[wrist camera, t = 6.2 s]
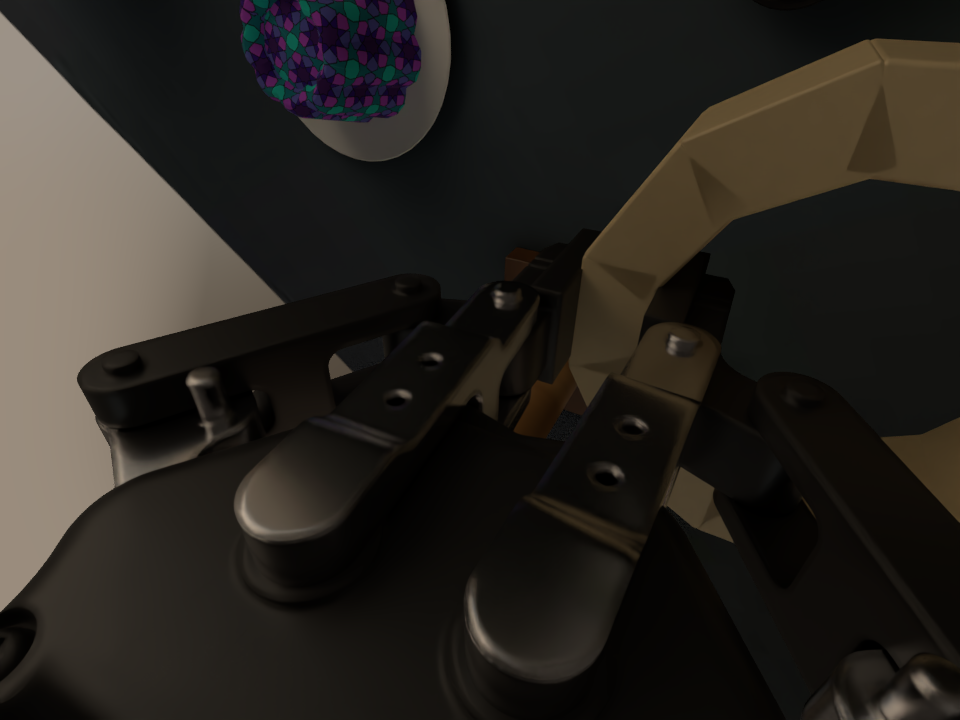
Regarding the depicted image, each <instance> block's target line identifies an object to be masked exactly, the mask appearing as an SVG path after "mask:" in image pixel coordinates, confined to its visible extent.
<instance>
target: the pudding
mask: <svg viewBox="0 0 960 720" xmlns="http://www.w3.org/2000/svg"><path fill="white" fill-rule="evenodd" d="M240 18H241V21H242V24H243V27H244V28H243V31H242V35H241V42H242V49H243V51H244V54H245V56H246V59H247V61H248V62H249V63H250V64H251V65H252V66H253V68H254V69H255V73H256V78H257V81H258V83H259V85H260V86H261V88H262V90H263V91H264V93H266V94H267V95H268V96H269V97H270V98H271V99H272V100H274V101H278V102H281V103H282V104H283V106H284V107H285V108H286V110H287V111H289V112H291V113H293V114H295V115H297V116H298V117H299V118H300V120H301V121H302V122H303V123H304V124H305V125H306V126H307V127H308V128H309V130H310V131H311V132H312V133H313V134H314V135H316V136H317V137H318V138H319V139H320V140H321V141H323V142H324V143H325V144H326V145H328V146H330V147H331V148H333V149H334V150H336V151H338V152H339V153H341V154H344V155H347V156H349V157H352V158H354V159H359V160H364V161H385V160H389V159H392V158H396V157H399V156H400V155H402V154H404V153H406V152H407V151H409V150H411V149H412V148H413V147H414V146H415V145H416V144H418V143H419V142H420V141H421V140H422V139H423V138H424V137H425V135H426V134H427V132H428V131H429V129H430V128H431V127H432V125H433V124H434V122H435V120H436V118H437V115H438V113H439V111H440V109H441V107H442V104H443V100H444V97H445V93H446V89H447V86H448V80H449V71H450V63H451V36H450V27H449V20H448V13H447V6H446V3H445V0H240Z"/></svg>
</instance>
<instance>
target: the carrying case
mask: <svg viewBox="0 0 960 720" xmlns="http://www.w3.org/2000/svg"><path fill="white" fill-rule="evenodd" d="M753 1H754V2H756V3H758V4H760V5H762V6H764V7H767V8H770V9H775V10H796V9H802V8H805V7H808V6H812V5H814V4H816V3H819V2H821V1H823V0H753Z"/></svg>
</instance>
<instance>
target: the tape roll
mask: <svg viewBox="0 0 960 720" xmlns="http://www.w3.org/2000/svg"><path fill="white" fill-rule="evenodd" d="M867 179H876V180H883V181H890V182H898V183H905V184H912V185H920V186H927V187H934V188H942V189H949V190H956V191H960V43H948V42H930V41H912V40H893V39H873V40H864V41H862V42H859V43H857V44H855V45H852V46H850V47H848V48H845V49H843V50H841V51H838V52H836V53H834V54H832V55H829V56H827V57H825V58H822V59H820V60H818V61H815V62H813V63H811V64H808V65H806V66H804V67H801V68H799V69H797V70H794V71H792V72H790V73H787V74H785V75H783V76H781V77H778V78H776V79H774V80H771V81H769V82H767V83H764V84H762V85H760V86H757V87H755V88H753V89H750V90H748V91H746V92H743V93H741V94H739V95H736V96H734V97H732V98H730V99H727V100H725V101H723V102H720V103H718V104H716V105H713V106H711V107H709V108H708V109H707V110H706V111H704V112H703V113H702V114H701V115H700V116H699V118H698V119H697V120H696V121H695V122H694V123H693V125H692V126H691V127H690V128H689V129H688V131H687V132H686V133H685V134H684V135H683V136H682V138H681V139H680V140H679V141H678V142H677V144H676V145H675V146H674V147H673V148H672V149H671V151H670V152H669V153H668V154H667V155H666V157H665V158H664V159H663V160H662V161H661V162H660V164H659V165H658V166H657V167H656V168H655V170H654V171H653V172H652V173H651V174H650V175H649V177H648V178H647V179H646V180H645V181H644V182H643V184H642V185H641V186H640V187H639V188H638V190H637V191H636V192H635V193H634V194H633V195H632V197H631V198H630V199H629V200H628V201H627V203H626V204H625V205H624V206H623V207H622V208H621V210H620V211H619V212H618V213H617V214H616V216H615V217H614V218H613V219H612V221H611V222H610V223H609V224H608V225H607V227H606V228H605V229H604V230H603V231H602V233H601V234H600V235H599V236H598V237H597V239H596V240H595V241H594V242H593V243H592V245H591V246H590V247H589V248H588V249H587V251H586V252H585V255H584V256H583V259H582V266H581V269H583V271H582V278H581V285H580V292H579V299H578V307H577V314H576V321H575V328H574V335H573V342H572V350H571V356H570V357H569V361H568V362H569V368H570V370H571V372H572V375H573V377H574V379H575V381H576V383H577V386H578V388H579V390H580V392H581V394H582V397H583V399H584V401H585V403H586V405H587V407H588V405H589V404H590V402H591V401H592V399H593V398H594V396H595V395H596V393H597V391H598V390H599V388H600V387H601V385H602V384H603V382H604V381H605V379H606V377H607V376H608V375H609V374H610V373H611V372H613V373H616V374H619V375H620V374H621V372H622V371H623V369H624V367H625V366H626V364H627V362H628V361H629V359H630V357H631V356H632V354H633V353H634V351H635V349H636V348H637V344H638V340H639V336H640V331H641V327H642V322H643V318H644V314H645V313H646V311H647V309H648V307H649V305H650V303H651V301H652V299H653V297H654V295H655V293H656V291H657V289H658V287H662V286H663V285H665V284H666V283H667V282H668V281H669V280H670V279H671V278H672V277H673V276H674V275H675V274H676V273H677V272H678V271H679V270H680V269H681V268H682V267H684V266H685V265H686V264H687V263H688V262H689V261H690V260H691V259H692V258H693V257H694V256H695V255H696V254H697V253H698V252H699V251H700V250H702V249H703V248H704V247H705V246H706V245H707V244H708V243H709V242H710V241H711V240H712V239H713V238H714V237H715V236H716V235H717V234H718V233H720V232H721V231H722V230H723V229H724V228H725V227H726V226H727V225H728V224H729V223H730V222H731V221H732V220H734V219H737V218H740V217H744V216H747V215H750V214H754V213H757V212H760V211H764V210H767V209H770V208H774V207H777V206H780V205H784V204H787V203H790V202H794V201H797V200H800V199H803V198H807V197H810V196H813V195H817V194H820V193H823V192H827V191H830V190H833V189H837V188H840V187H843V186H847V185H850V184H853V183H857V182H860V181H863V180H867ZM880 438H881V439H882V440H883V441H884V442H885V443H886V444H887V445H888V446H889V447H890V449H891V450H892V451H893V452H894V453H895V454H896V455H897V456H898V457H899V458H900V459H901V460H902V461H903V463H904V464H905V465H906V466H907V467H908V468H909V469H910V470H911V471H912V472H913V473H914V474H915V475H916V476H917V478H918V479H919V480H920V481H921V482H922V483H923V484H924V485H925V486H926V487H927V488H928V489H929V490H930V492H931V493H932V494H933V495H934V496H935V497H936V498H937V499H938V500H939V501H940V502H941V503H942V504H943V505H944V507H945V508H946V509H947V510H948V511H949V512H950V513H951V514H952V515H953V516H954V517H955V518H956V519H957V521H958V522H959V523H960V418H957V419H955V420H953V421H951V422H949V423H946V424H944V425H942V426H940V427H937V428H935V429H933V430H931V431H929V432H926V433H924V434H922V435H911V436H895V437H880ZM713 491H714V487H712V486H711V485H709V484H707V483H706V482H704V481H702V480H701V479H699V478H698V477H696V476H694V475H693V474H691V473H690V472H688V471H686V470H685V469H683V468H682V467H681V469H680V471H679V474H678V477H677V479H676V482H675V485H674V487H673V490H672V493H671V495H670V498H669V501H668V503H667V506H669V507H670V508H671V509H672V510H673V511H675V512H676V513H677V514H678V515H679V516H681V517H682V518H683V519H684V520H685V521H686V522H688V523H689V524H690V525H691V526H692V527H694V528H698V529H699V530H702V531H704V532H707V533H709V534H712V535H715V536H717V537H720V538H723V539H725V540H728V541H731V542H733V540H732V538H731V536H730V534H729V532H728V530H727V528H726V526H725V524H724V522H723V520H722V518H721V516H720V514H719V512H718V510H717V508H716V506H715V504H714V501H713ZM802 500H803V501H804V503H805V504H806V505H807V507H808V508H809V510H810V511H811V513H812V514H813V516H814V513H813V511H812V510H811V508H810V507H809V505H808V504H807V502H806V501H805V499H804V498H803V497H802ZM814 517H815V516H814ZM815 519H816V518H815ZM733 543H734V542H733Z"/></svg>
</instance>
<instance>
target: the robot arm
mask: <svg viewBox="0 0 960 720" xmlns="http://www.w3.org/2000/svg"><path fill="white" fill-rule="evenodd" d="M601 233H602V232H600V231H595V230H590V229H585V228H583V229H582V230H581V231H580V232H579V233H578V234H577V235H576V237H575V238H574V239H573V240H572V241H571V242H570V243H569V244H563V243H557V244H554V245H552V246H549V247H546V248H544V249H543V250H542V251H541V252H540V253H539V254H538V255H537V256H536V257H535V259H533V260H532V261H531V262H530V263H529V264H528V266H526V267H525V268H524V269H523V270H522V271H521V272H520V273H519V274H518V275H517V276H516V277H515V278H514V279H513V280H512V281H496V282H491V283H487V284H485V285H483V286H481V287H480V288H479V289H478V290H477V291H476V292H475V293H474V294H473V295H472V296H471V297H470V298H469V299H468V300H454V299H441V291H440V284H439V283H438V282H437V280H435V279H434V278H432V277H429V276H426V275H422V274H400V275H395V276H391V277H387V278H384V279H380V280H376V281H372V282H368V283H364V284H361V285H357V286H353V287H349V288H345V289H341V290H338V291H334V292H330V293H326V294H322V295H318V296H315V297H311V298H307V299H303V300H299V301H296V302H292V303H288V304H284V305H281V306H276V307H273V308H269V309H265V310H261V311H257V312H254V313H250V314H246V315H242V316H238V317H235V318H231V319H227V320H223V321H219V322H215V323H211V324H207V325H204V326H200V327H196V328H192V329H188V330H185V331H181V332H177V333H173V334H169V335H165V336H162V337H158V338H154V339H150V340H146V341H143V342H139V343H135V344H131V345H127V346H123V347H120V348H116V349H113V350H110V351H108V352H105V353H103V354H101V355H99V356H97V357H95V358H94V359H92V360H91V361H89V362H88V363H87V364H86V365H85V366H84V367H83V368H82V369H81V370H80V372H79V374H78V377H77V382H78V384H79V386H80V388H81V389H82V391H83V393H84V395H85V397H86V399H87V401H88V402H89V404H90V406H91V408H92V410H93V411H94V413H95V415H96V416H95V417H96V422H97V424H98V426H99V428H100V430H101V431H102V433H103V435H104V437H105V439H106V440H107V442H108V444H109V446H110V449H111V458H112V466H113V475H114V484H115V488H114V489H113V490H111V491H109V492H108V493H106V494H105V495H103V496H102V497H101V498H99V499H98V500H97V501H95V502H94V503H93V504H92V505H90V506H89V507H88V508H87V509H86V510H85V511H84V512H83V513H82V514H81V515H80V516H79V517H78V518H77V519H76V520H75V521H74V523H73V524H72V525H71V526H70V527H69V528H68V530H67V531H66V533H65V534H64V536H63V537H62V539H61V540H60V542H59V543H58V545H57V546H56V548H55V549H54V551H53V552H52V554H51V555H50V557H49V558H48V559H47V561H46V562H45V563H44V565H43V566H42V567H41V569H40V570H39V571H38V573H37V574H36V575H35V576H34V577H33V578H32V580H31V581H30V582H29V583H28V584H27V585H26V586H25V588H24V589H23V590H22V591H21V592H20V593H19V594H18V595H17V596H16V597H15V598H14V599H13V600H12V601H11V602H10V603H9V604H8V605H7V606H6V607H5V608H4V609H3V610H2V611H1V612H0V720H786V719H785V717H784V715H783V713H782V711H781V709H780V708H779V706H778V704H777V702H776V700H775V698H774V697H773V695H772V693H771V691H770V689H769V687H768V685H767V684H766V682H765V680H764V678H763V676H762V674H761V673H760V671H759V669H758V667H757V665H756V663H755V661H754V660H753V658H752V656H751V654H750V652H749V650H748V649H747V647H746V645H745V643H744V641H743V639H742V637H741V636H740V634H739V632H738V630H737V628H736V626H735V625H734V623H733V621H732V619H731V617H730V615H729V614H728V612H727V610H726V608H725V606H724V604H723V602H722V601H721V599H720V597H719V595H718V593H717V591H716V590H715V588H714V586H713V584H712V582H711V580H710V578H709V577H708V575H707V573H706V571H705V569H704V567H703V566H702V564H701V562H700V560H699V558H698V556H697V555H696V553H695V551H694V549H693V547H692V545H691V543H690V542H689V540H688V538H687V536H686V535H685V533H684V531H683V530H682V528H681V527H680V525H679V524H678V522H677V521H676V520H675V518H674V517H673V516H672V515H671V514H670V513H669V511H668V510H667V509H666V506H667V503H668V501H669V498H670V495H671V493H672V490H673V487H674V485H675V482H676V479H677V477H678V474H679V471H680V469H681V467H682V468H683V469H685V470H686V471H688V472H690V473H691V474H693V475H694V476H696V477H698V478H699V479H701V480H702V481H704V482H706V483H707V484H709V485H711V486H712V487H714V491H713V501H714V504H715V506H716V508H717V510H718V512H719V514H720V516H721V518H722V520H723V522H724V524H725V526H726V528H727V530H728V532H729V534H730V536H731V538H732V540H733V542H734V544H735V546H736V547H737V549H738V551H739V553H740V555H741V557H742V559H743V561H744V563H745V565H746V567H747V569H748V571H749V573H750V575H751V577H752V579H753V581H754V583H755V585H756V587H757V589H758V591H759V593H760V595H761V597H762V599H763V600H764V602H765V604H766V606H767V608H768V610H769V612H770V614H771V616H772V618H773V620H774V622H775V624H776V626H777V628H778V630H779V632H780V634H781V636H782V638H783V640H784V642H785V644H786V646H787V648H788V650H789V651H790V653H791V655H792V657H793V659H794V661H795V663H796V665H797V667H798V669H799V671H800V673H801V675H802V677H803V679H804V681H805V683H806V685H807V687H808V689H809V691H810V693H811V696H810V698H809V699H808V700H807V702H806V703H805V705H804V708H803V710H802V716H801V720H960V523H959V522H958V521H957V519H956V518H955V517H954V516H953V515H952V514H951V513H950V512H949V511H948V510H947V509H946V508H945V507H944V505H943V504H942V503H941V502H940V501H939V500H938V499H937V498H936V497H935V496H934V495H933V494H932V493H931V492H930V490H929V489H928V488H927V487H926V486H925V485H924V484H923V483H922V482H921V481H920V480H919V479H918V478H917V476H916V475H915V474H914V473H913V472H912V471H911V470H910V469H909V468H908V467H907V466H906V465H905V464H904V463H903V461H902V460H901V459H900V458H899V457H898V456H897V455H896V454H895V453H894V452H893V451H892V450H891V449H890V447H889V446H888V445H887V444H886V443H885V442H884V441H883V440H882V439H881V438H880V437H879V436H878V435H877V434H876V432H875V431H874V430H873V429H872V428H871V427H870V426H869V425H868V424H867V423H866V422H865V421H864V420H863V418H862V417H861V416H860V415H859V414H858V413H857V412H856V411H855V410H854V409H853V408H852V407H851V406H850V405H849V403H848V402H847V401H846V400H845V399H844V398H843V397H842V396H841V395H840V394H839V393H838V392H837V391H835V390H834V389H833V388H831V387H830V386H828V385H826V384H825V383H823V382H821V381H819V380H817V379H814V378H811V377H809V376H805V375H802V374H797V373H791V372H774V373H769V374H767V375H764V376H763V377H761V378H760V379H759V381H758V382H755V381H753V380H751V379H749V378H747V377H745V376H743V375H741V374H740V373H738V372H737V371H735V370H734V369H733V368H731V367H730V366H729V365H728V364H727V363H726V362H725V360H724V359H723V357H722V355H721V342H722V339H723V335H724V331H725V327H726V324H727V320H728V316H729V312H730V309H731V305H732V301H733V297H734V294H735V290H734V288H733V286H732V284H731V283H730V281H729V279H727V278H722V277H717V276H713V275H708V274H705V273H706V269H707V266H708V263H709V259H710V255H711V254H710V253H705V252H700V251H699V252H698V253H697V254H696V255H695V256H694V257H693V258H692V259H691V260H690V261H689V262H688V263H687V264H686V265H685V266H684V267H682V268H681V269H680V270H679V271H678V272H677V273H676V274H675V275H674V276H673V277H672V278H671V279H670V280H669V281H668V282H667V283H666V284H665V285H663V286H662V287H658V289H657V291H656V293H655V295H654V297H653V299H652V301H651V303H650V305H649V307H648V309H647V311H646V313H645V314H644V318H643V322H642V327H641V331H640V336H639V340H638V344H637V348H636V349H635V351H634V353H633V354H632V356H631V357H630V359H629V361H628V362H627V364H626V366H625V367H624V369H623V371H622V372H621V374H620V375H619V374H616V373H613V372H611V373H610V374H609V375H608V376H607V377H606V379H605V381H604V382H603V384H602V385H601V387H600V388H599V390H598V391H597V393H596V395H595V396H594V398H593V399H592V401H591V402H590V404H589V405H588V407H587V409H586V410H585V412H584V413H583V415H582V416H581V418H580V419H579V421H578V423H577V424H576V426H575V427H574V429H573V430H572V432H571V434H570V435H569V437H568V438H567V440H566V441H565V442H564V441H558V440H551V439H545V438H539V437H532V436H526V435H521V434H518V433H516V432H514V431H513V430H514V429H515V427H516V425H517V423H518V422H519V420H520V418H521V416H522V415H523V413H524V411H525V409H526V408H527V406H528V404H529V402H530V399H531V389H532V386H533V385H534V384H535V382H536V381H537V380H539V381H542V382H545V383H548V384H551V385H552V384H553V382H554V381H555V379H556V378H557V376H558V374H559V373H560V371H561V370H562V368H563V367H564V365H565V364H566V362H567V361H568V359H569V357H570V356H571V350H572V342H573V335H574V328H575V321H576V314H577V307H578V299H579V292H580V285H581V278H582V271H583V269H581V266H582V259H583V256H584V255H585V252H586V251H587V249H588V248H589V247H590V246H591V245H592V243H593V242H594V241H595V240H596V239H597V237H598V236H599V235H600V234H601ZM381 336H382V337H383V346H384V355H385V359H384V360H383V361H382V362H381V363H379V364H376V365H373V366H370V367H367V368H364V369H361V370H358V371H355V372H352V373H349V374H346V375H344V376H340V377H337V378H334V379H330V373H329V368H328V364H329V360H330V358H331V357H332V356H333V354H334V353H336V352H337V351H338V350H340V349H343V348H346V347H349V346H352V345H355V344H358V343H362V342H365V341H368V340H371V339H374V338H378V337H381ZM252 390H255V391H254V392H252ZM802 497H803V498H804V499H805V501H806V502H807V504H808V505H809V507H810V508H811V510H812V511H813V513H814V516H815V517H814V516H813V514H812V513H811V511H810V510H809V508H808V507H807V505H806V504H805V503H804V501H803V500H802ZM815 518H816V519H815Z"/></svg>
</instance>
